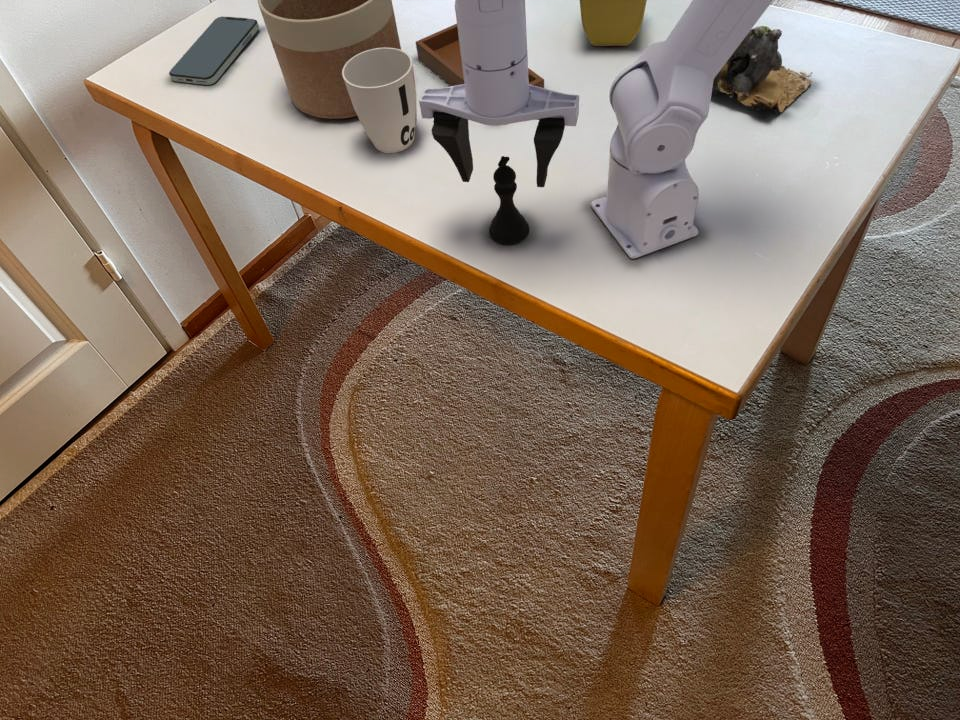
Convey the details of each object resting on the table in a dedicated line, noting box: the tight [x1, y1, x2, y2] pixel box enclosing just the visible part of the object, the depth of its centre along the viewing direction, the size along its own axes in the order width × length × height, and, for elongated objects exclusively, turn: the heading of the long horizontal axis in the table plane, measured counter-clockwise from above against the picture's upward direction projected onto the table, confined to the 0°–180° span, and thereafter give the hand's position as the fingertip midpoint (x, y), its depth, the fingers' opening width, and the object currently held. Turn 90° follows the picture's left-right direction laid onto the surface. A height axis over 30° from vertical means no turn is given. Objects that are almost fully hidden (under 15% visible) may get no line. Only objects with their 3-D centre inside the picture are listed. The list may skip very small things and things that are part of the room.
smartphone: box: [168, 16, 260, 86], centre depth 105 cm, size 8×2×15 cm
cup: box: [342, 48, 418, 154], centre depth 86 cm, size 8×8×10 cm
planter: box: [257, 0, 402, 120], centre depth 92 cm, size 16×16×14 cm
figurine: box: [712, 25, 814, 119], centre depth 84 cm, size 10×10×10 cm
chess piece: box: [488, 155, 530, 246], centre depth 74 cm, size 4×4×10 cm
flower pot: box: [579, 0, 648, 47], centre depth 95 cm, size 9×9×9 cm
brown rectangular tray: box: [415, 23, 545, 88], centre depth 95 cm, size 19×8×3 cm, turn 34°
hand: (504, 178), depth 72 cm, fingers open, 7 cm apart
